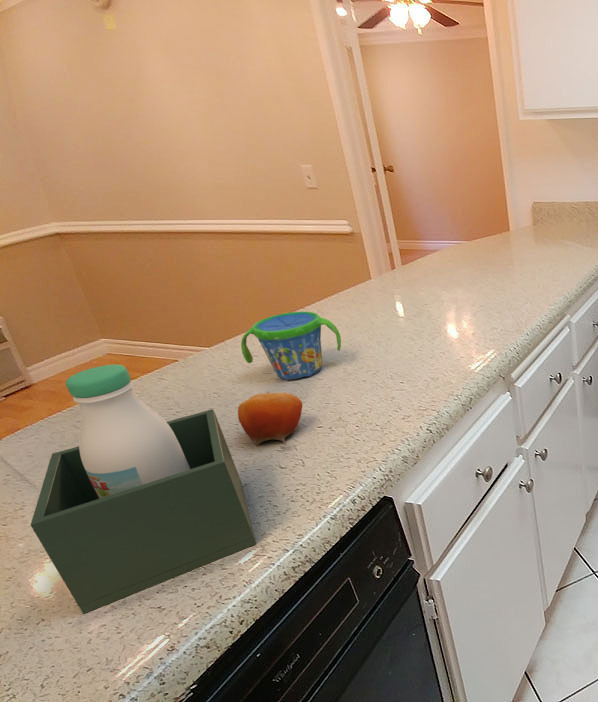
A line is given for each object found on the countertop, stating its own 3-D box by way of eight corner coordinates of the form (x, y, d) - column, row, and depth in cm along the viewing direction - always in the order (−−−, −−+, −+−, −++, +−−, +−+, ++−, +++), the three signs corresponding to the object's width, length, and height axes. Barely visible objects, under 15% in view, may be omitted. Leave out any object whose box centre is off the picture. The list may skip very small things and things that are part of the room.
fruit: (230, 452, 77) (225, 395, 77) (254, 451, 84) (249, 398, 85) (295, 441, 78) (289, 385, 79) (313, 441, 86) (307, 390, 87)
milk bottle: (191, 501, 68) (125, 351, 60) (223, 522, 64) (159, 365, 56) (113, 541, 62) (28, 380, 54) (144, 567, 58) (58, 398, 50)
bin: (94, 533, 65) (51, 453, 60) (241, 482, 73) (213, 408, 68) (83, 614, 54) (30, 524, 50) (256, 544, 62) (224, 461, 58)
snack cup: (352, 355, 109) (339, 306, 105) (340, 378, 100) (326, 325, 96) (264, 366, 106) (248, 315, 102) (243, 390, 97) (224, 336, 93)
